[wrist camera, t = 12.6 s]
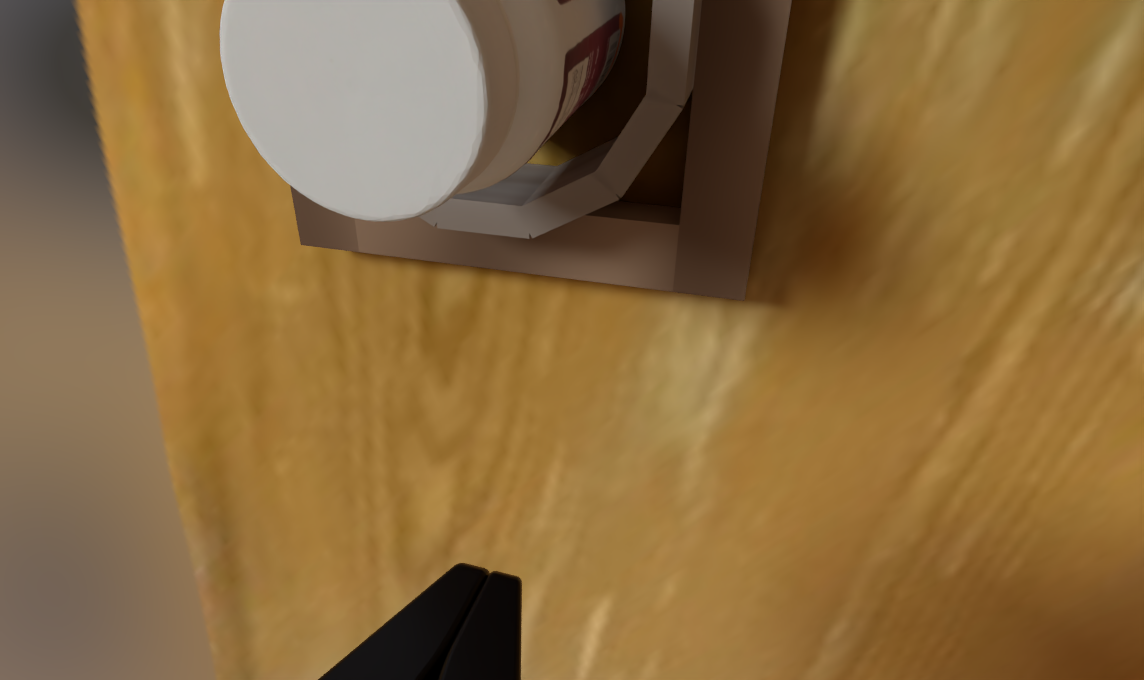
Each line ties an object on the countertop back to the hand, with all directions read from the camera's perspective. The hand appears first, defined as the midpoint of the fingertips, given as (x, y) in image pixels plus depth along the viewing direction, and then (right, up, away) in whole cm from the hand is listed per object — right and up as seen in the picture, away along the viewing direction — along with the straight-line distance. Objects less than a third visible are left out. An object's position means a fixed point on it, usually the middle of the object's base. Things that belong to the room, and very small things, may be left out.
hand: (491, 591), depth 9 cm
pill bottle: (0, +11, +8) cm, 13 cm away
